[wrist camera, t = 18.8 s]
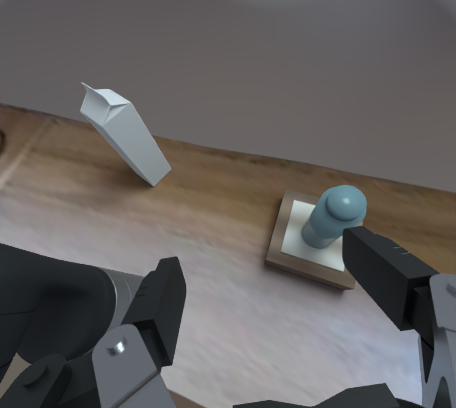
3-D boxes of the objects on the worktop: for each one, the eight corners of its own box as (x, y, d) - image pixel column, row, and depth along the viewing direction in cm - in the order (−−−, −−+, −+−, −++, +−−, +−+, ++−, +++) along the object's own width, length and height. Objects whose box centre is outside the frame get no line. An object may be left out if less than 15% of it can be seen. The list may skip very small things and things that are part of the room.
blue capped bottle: (330, 253, 35) (369, 228, 23) (298, 242, 36) (318, 214, 24) (336, 224, 37) (375, 187, 25) (305, 215, 38) (328, 175, 26)
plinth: (344, 290, 37) (355, 288, 33) (264, 263, 40) (265, 258, 36) (354, 216, 42) (365, 208, 38) (282, 197, 45) (285, 188, 41)
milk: (154, 187, 49) (86, 111, 29) (137, 174, 51) (62, 94, 31) (172, 168, 51) (120, 84, 30) (155, 156, 53) (95, 69, 32)
